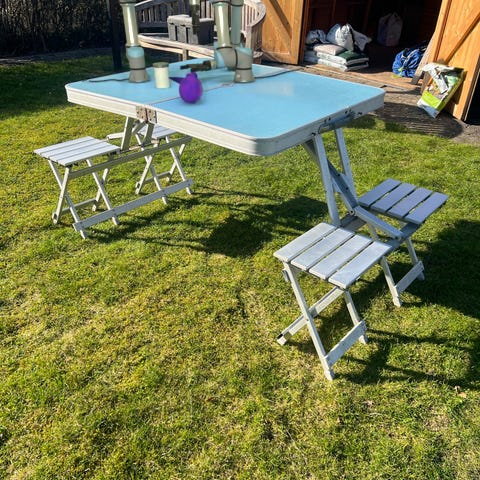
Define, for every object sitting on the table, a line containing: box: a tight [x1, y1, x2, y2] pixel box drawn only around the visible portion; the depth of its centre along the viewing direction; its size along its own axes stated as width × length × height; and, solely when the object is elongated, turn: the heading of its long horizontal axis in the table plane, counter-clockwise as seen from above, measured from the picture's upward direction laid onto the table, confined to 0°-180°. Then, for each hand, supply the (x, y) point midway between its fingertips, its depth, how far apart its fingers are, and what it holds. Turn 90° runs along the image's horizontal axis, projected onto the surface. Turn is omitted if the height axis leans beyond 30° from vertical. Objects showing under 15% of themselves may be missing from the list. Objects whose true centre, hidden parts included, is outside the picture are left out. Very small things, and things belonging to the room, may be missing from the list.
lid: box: [152, 61, 170, 69], centre depth 313 cm, size 11×11×2 cm
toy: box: [168, 71, 204, 104], centre depth 278 cm, size 16×18×27 cm
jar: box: [153, 67, 171, 89], centre depth 316 cm, size 10×10×15 cm
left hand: (196, 35), depth 349 cm, fingers open, 13 cm apart
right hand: (185, 69), depth 327 cm, fingers open, 13 cm apart
